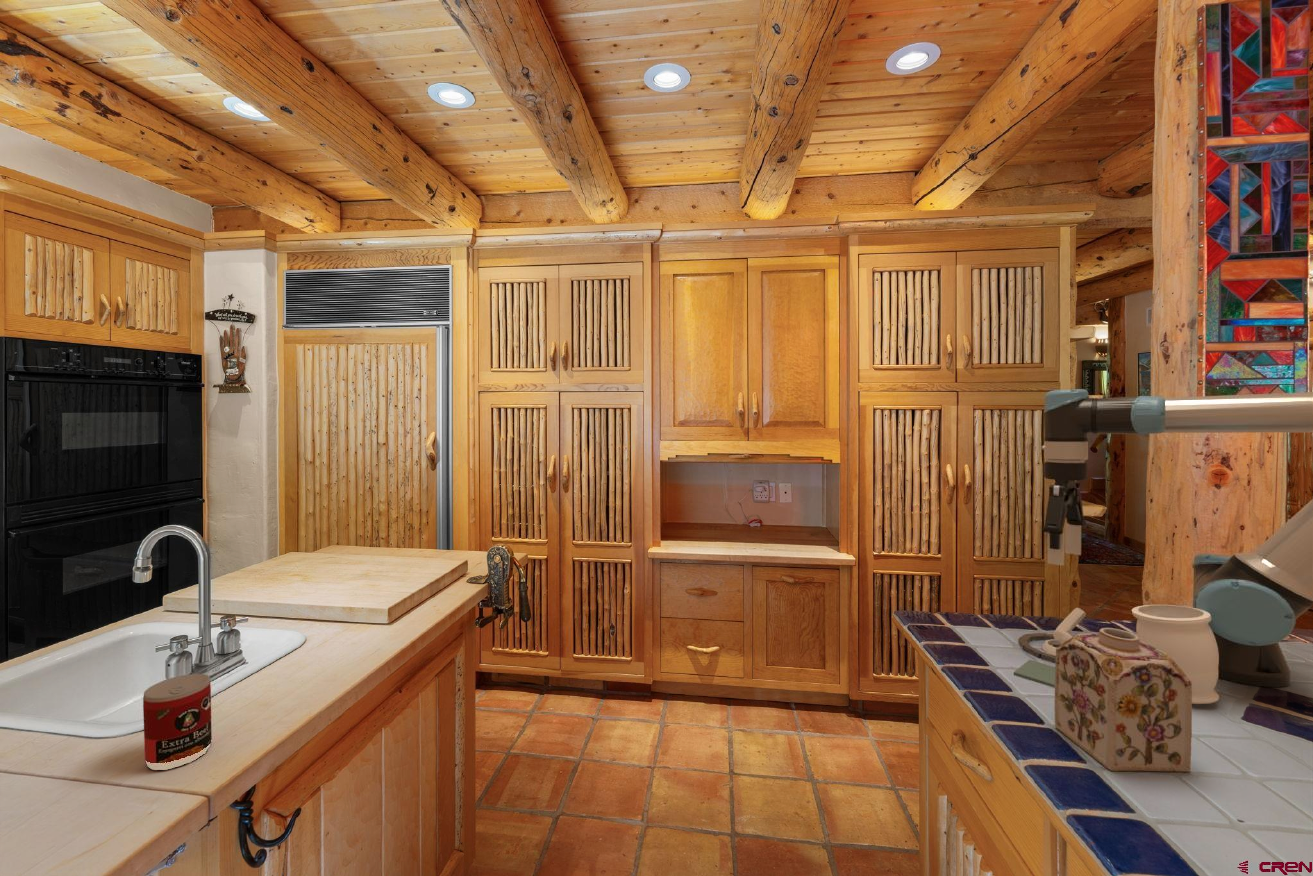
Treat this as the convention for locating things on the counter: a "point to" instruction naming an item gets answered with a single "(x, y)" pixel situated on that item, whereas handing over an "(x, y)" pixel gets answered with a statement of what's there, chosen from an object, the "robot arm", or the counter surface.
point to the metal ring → (1035, 652)
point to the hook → (1064, 631)
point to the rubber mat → (1037, 672)
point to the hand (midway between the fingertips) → (1064, 559)
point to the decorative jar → (1124, 702)
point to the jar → (1183, 643)
